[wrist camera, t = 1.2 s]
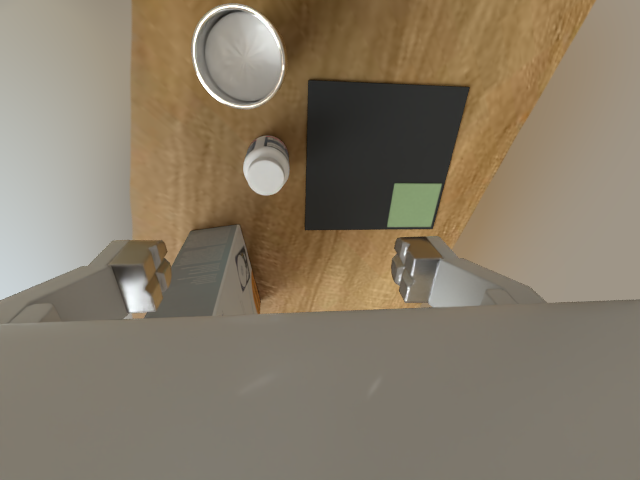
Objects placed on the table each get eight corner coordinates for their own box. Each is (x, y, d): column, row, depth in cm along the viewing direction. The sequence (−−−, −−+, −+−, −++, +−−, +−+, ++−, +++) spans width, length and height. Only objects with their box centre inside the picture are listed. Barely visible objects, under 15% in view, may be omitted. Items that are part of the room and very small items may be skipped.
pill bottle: (256, 179, 42) (250, 207, 35) (241, 142, 40) (231, 162, 32) (293, 168, 42) (296, 193, 34) (281, 129, 39) (280, 147, 32)
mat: (308, 80, 37) (308, 80, 36) (468, 87, 39) (470, 87, 38) (305, 228, 47) (305, 230, 46) (431, 227, 49) (433, 229, 49)
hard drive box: (262, 301, 53) (252, 417, 36) (217, 308, 53) (186, 428, 36) (240, 221, 45) (214, 323, 28) (187, 229, 45) (129, 336, 28)
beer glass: (297, 75, 36) (304, 87, 23) (244, 102, 37) (224, 127, 24) (268, 7, 33) (257, -23, 20) (211, 39, 34) (166, 30, 21)
